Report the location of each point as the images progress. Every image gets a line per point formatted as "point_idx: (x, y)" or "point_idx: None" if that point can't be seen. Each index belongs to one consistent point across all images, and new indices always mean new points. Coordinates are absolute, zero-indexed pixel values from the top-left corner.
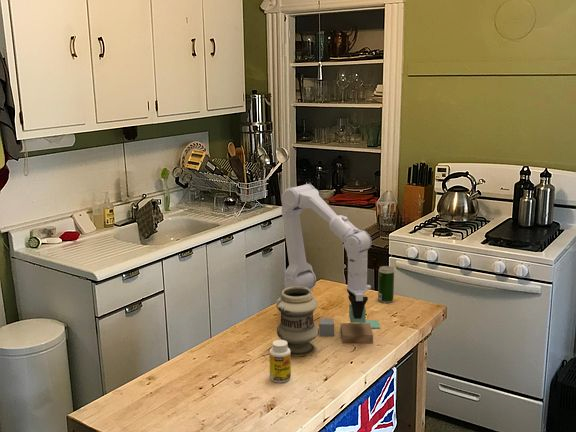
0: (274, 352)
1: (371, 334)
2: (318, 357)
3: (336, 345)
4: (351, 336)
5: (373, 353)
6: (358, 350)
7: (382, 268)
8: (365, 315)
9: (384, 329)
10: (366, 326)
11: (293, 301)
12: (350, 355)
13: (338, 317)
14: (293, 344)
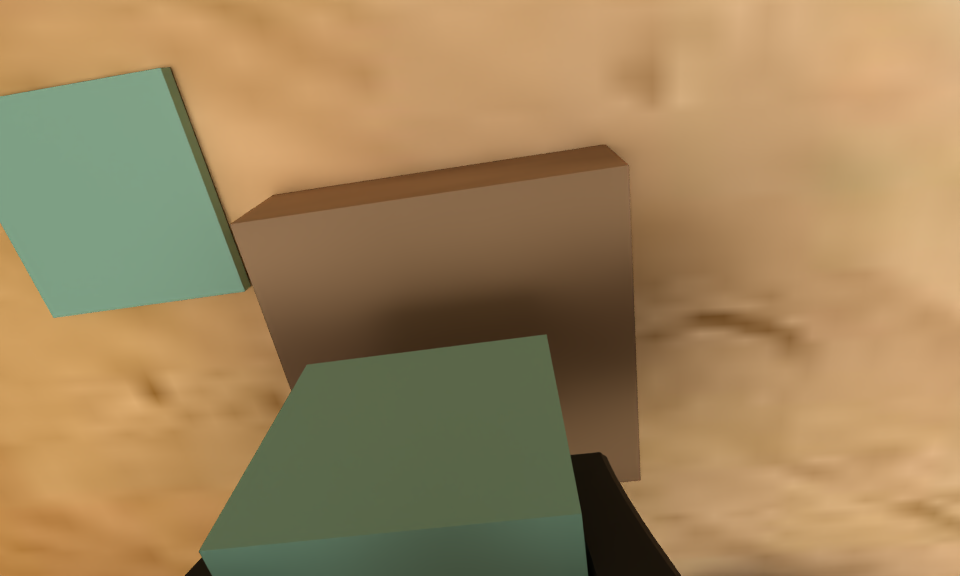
0: None
1: (602, 188)
2: (876, 554)
3: (662, 461)
4: (635, 399)
5: (873, 128)
6: (779, 285)
7: None
8: (562, 417)
9: (168, 5)
10: (352, 261)
11: None
12: (882, 348)
13: (68, 480)
14: None
